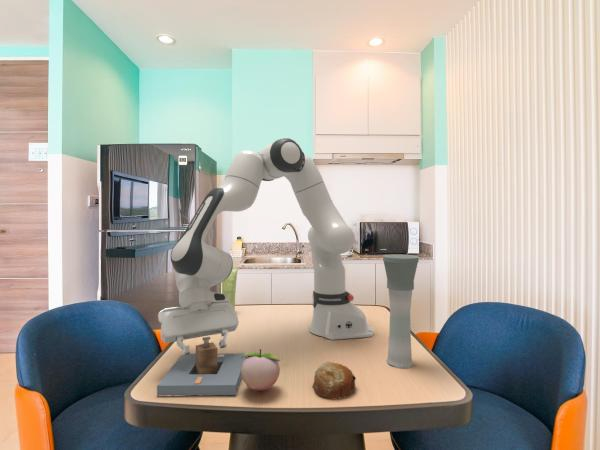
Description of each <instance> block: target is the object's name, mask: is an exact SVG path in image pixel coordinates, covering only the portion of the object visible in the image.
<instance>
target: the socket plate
mask: <svg viewBox="0 0 600 450" xmlns="http://www.w3.org/2000/svg"><path fill="white" fill-rule="evenodd" d="M246 353H247V352H246ZM246 353H245V352H244V353H241V352H240V353H217V360H218V373H217V374H196V353H189V355H185V356H183V353H182V354H181V355H180V356H179V358H178V359H177V360H176V361H175V363H174V364H173V365H172V366H171V367H170V369H169V370H168V371H167V373H166V374H165V375H164V376H163V377H162V379H161V380H160V381H159V382H158V383H157V385H156V396H157V395H236V396H237V394H236V393H238V391H239V388H238V387H240V385H239V384H241V381H242V375H241V367H242V363H243V361H244V359H245V358H246V357H247V356H245V357H242V356H243V355H244V354H246ZM241 357H242V358H241ZM237 390H238V391H237Z"/></svg>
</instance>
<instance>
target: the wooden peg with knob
mask: <svg viewBox="0 0 600 450" xmlns="http://www.w3.org/2000/svg"><path fill="white" fill-rule="evenodd" d="M210 340H211V336H203V337H202V341H203V343H202V344H196V345H195V354H196V373H195V374H217V373H218V360H217V354H218V347H217V345H216V344H215V343H214V342H210Z"/></svg>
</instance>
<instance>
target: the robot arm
mask: <svg viewBox="0 0 600 450" xmlns="http://www.w3.org/2000/svg"><path fill="white" fill-rule="evenodd" d="M283 177H285V179H286V180H288V182H289V183H290V185H291V189H292V191H293V193H294V195H295V198H296V201H297V203H298V205H299V208H300V209H301V212H302V214H303V216H304V217H305V218H306V219H307V221H308V222H309V224H310V226H311V227H310V228H309V230H308V231H307V238H308V241H309V245H310V252H311V258H312V264H313V283H314V284H313V291H312V307H313V310H312V317H311V323H310V327H309V331H310V333H312V334H313V335H316V336H320V337H322V338H326V339H327V340H330V341H331V340H332V341H333V340H343V339H345V340H347V339H357V338H358V339H359V338H370V337H373V336H374V329H373V327H372V325H370V324H369V323H368V322H367V318H366V314H365V313H364V311H362V309H360V308H359V307H358V306H357V305H355V304H354V303H353V301H354V295H353V294H351V293H350V292H348V291H347V290H346V268H345V266H344V263H343V261H342V257H341V254H346V253H347V252H349V251H351V250H352V249H353V247H354V245H355V241H356V237H355V235H356V234H355V232H354V231H353V229H352V228H351V227H350V226H349V225H348V224H347V223H346V221H345V220H344V218H343V216H342V215H341V213H340V211H339V210H338V209H337V207H336V206H335V204H334V202H333V199H332V198H331V196H330V193H329V191H328V188H327V186H326V184H325V181H324V179H323V176H322V174H321V172H320V171H319V168H318V167H317V165H316V163H315V161H314V160H313V159H312V158H311V157H310V156H308V155H307V154H306V155H305V153H304V152H303V150H302V148H301V146H300V145H299V144H298V142H296V141H295V140H293V139H291V138H289V137H288V138H287V137H286V138H285V137H284V138H280V139H276V140H274V142H272V143H270V144H268V145H266V146H265V147H264V148H263V149H261V150H259V151H258V152H256V151H254V150H251V149H250V150H249V149H243V150H240V151H238V152H237V153H236V155H235V156H234V158H233V159H232V161H231V163H230V164H229V167H228V169H227V171H226V172H225V175H224V177H223V181H221V184H220V185H219V186H218V187H215V188H212V189H210V191H209V192H208V193H207V194H206V196H204V198H203V201H202V202H201V204H200V205H199V207H198V209H197V210H196V212H195V213H194V215H193V217H192V219H190V220H191V221H190V223H189V224H188V225H187V226H186V227H187V228H186V229H185V231H184V233H182V236H181V237H180V238H179V239H178V240H177V241H176V243H175V244H174V246H173V248H172V249H171V252H170V261H171V262H170V263H171V265H172V267H173V269H174V274H175V275H174V276H175V285H176V288H177V290H178V302H179V303H178V304H179V306H173V307H166V308H165V307H164V308H162V310H160V311H159V312H158V313H157V321H158V323H159V324H160V339H161V341H162V342H163V343H164V344H169V343H173V342H176V345H177V347H179V349H180V350H181V351H182V354H183V356H185V355H189V354H191V349H190V345H186V344H185V343H184V341H185V340H191V339H197V338H204V337H210V336H214V335H219V334H220V335H221V337H222V338H221V339H220V340H219V342H218V345H219V349H224V348H225V349H226V348H227V346H228V345H227V336H228V334H229V333H231V332H235V331H236V330H237V328H238V326H239V317H238V315H237V312H236V308H235V309H234V307H233V306H232V304H230V303H228V302H229V296H228V295H227V294H222V292H221V293H220V292H215V291H212V290H211V288H213V287H216V286H218V285H220V284H222V282H223V281H224V280H226V279H227V278H228V277H229V276H230V274H231V272H232V268H233V266H234V264H233V263H234V262H233V258H232V255H231V254H230V253H229V252H226V251H224V250H222V249H220V248H218V247H215V246H213V245H210V244H207V243H206V242H205V241H206V236H207V234H208V232H209V231H210V229H211V227H212V225H213V223H214V222H215V220H216V219H217V216H218V215H219V214H221V213H222V212H223V213H224V212H243V211H246V210H248V209H249V208H251V207H252V206H253V205H254V203H255V202H256V200H257V196H258V192H259V189H260V187H261V183H262V181H263V182H271V181H274V180H277V179H280V178H283Z"/></svg>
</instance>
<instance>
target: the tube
mask: <svg viewBox="0 0 600 450" xmlns="http://www.w3.org/2000/svg"><path fill="white" fill-rule="evenodd" d="M238 271H239V267H233V268H232V272H231V274H230V276H229V277H228V278H227V279H226V280H224V281H223V282H221V294H227V295H228V296H229V302H228V303H230V304H232V306H233V307H234V309H235V310H236V308H235V307H236V290H237V276H238Z"/></svg>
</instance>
